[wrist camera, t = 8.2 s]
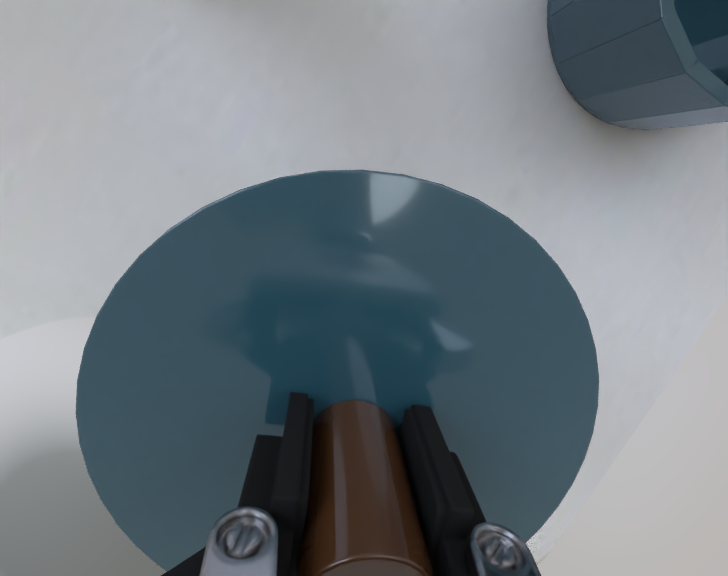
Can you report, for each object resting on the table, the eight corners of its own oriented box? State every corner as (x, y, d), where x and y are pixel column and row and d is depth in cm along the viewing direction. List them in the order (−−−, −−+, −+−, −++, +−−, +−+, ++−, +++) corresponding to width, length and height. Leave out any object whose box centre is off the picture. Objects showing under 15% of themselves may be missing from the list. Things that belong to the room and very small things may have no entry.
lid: (93, 117, 10) (-240, 49, 4) (646, 219, 12) (945, 271, 6) (101, 578, 15) (-54, 860, 9) (505, 594, 17) (602, 829, 11)
